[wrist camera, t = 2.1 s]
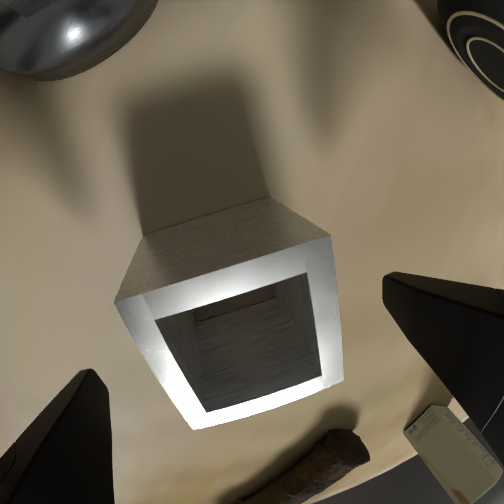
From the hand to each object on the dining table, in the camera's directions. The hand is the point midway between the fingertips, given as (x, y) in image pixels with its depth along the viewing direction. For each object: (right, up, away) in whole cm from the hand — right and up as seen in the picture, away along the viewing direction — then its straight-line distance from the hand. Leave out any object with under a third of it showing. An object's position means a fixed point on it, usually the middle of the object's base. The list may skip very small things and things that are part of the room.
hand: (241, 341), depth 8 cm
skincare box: (+19, -15, +15) cm, 29 cm away
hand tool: (+3, -19, +13) cm, 23 cm away
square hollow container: (-1, +2, +4) cm, 4 cm away
